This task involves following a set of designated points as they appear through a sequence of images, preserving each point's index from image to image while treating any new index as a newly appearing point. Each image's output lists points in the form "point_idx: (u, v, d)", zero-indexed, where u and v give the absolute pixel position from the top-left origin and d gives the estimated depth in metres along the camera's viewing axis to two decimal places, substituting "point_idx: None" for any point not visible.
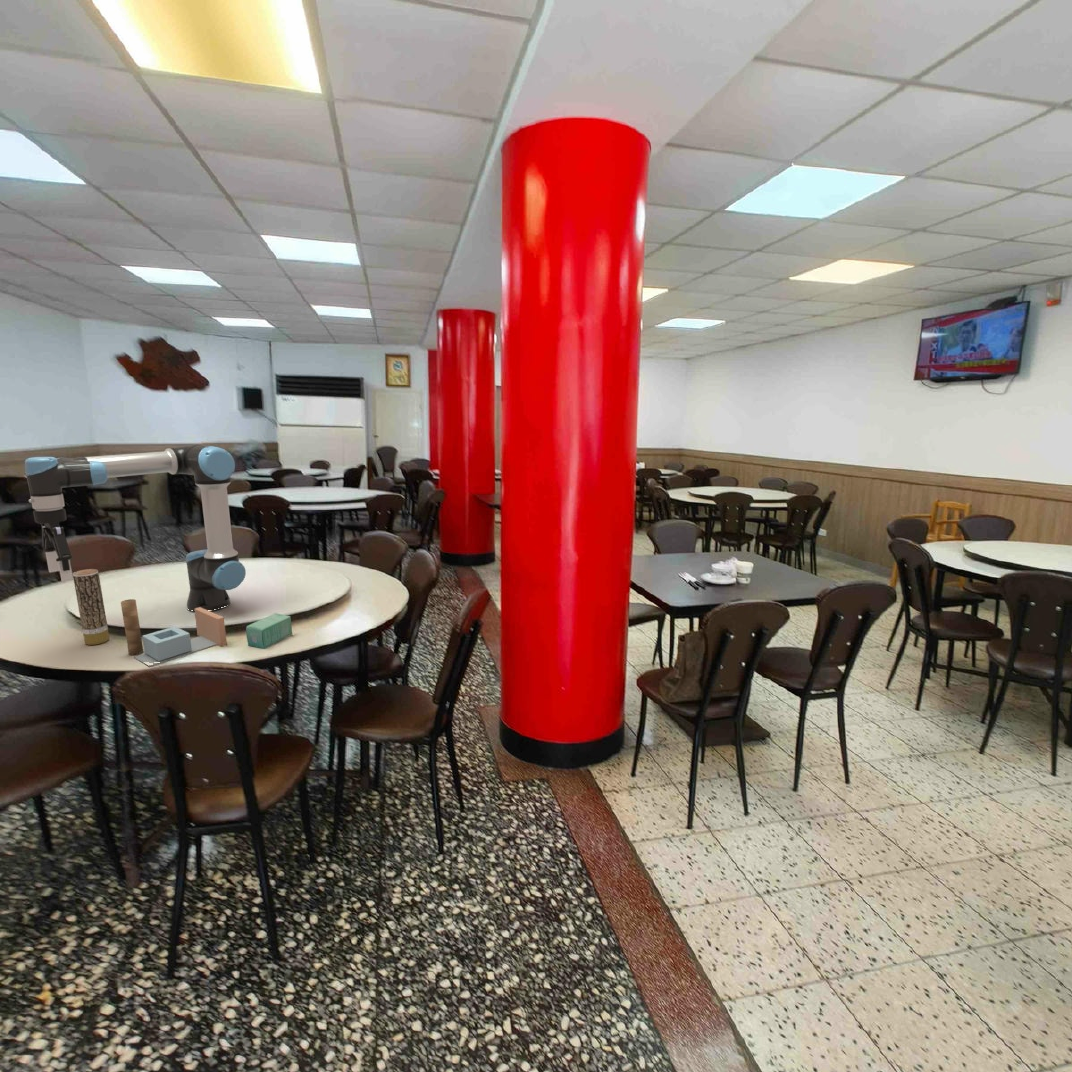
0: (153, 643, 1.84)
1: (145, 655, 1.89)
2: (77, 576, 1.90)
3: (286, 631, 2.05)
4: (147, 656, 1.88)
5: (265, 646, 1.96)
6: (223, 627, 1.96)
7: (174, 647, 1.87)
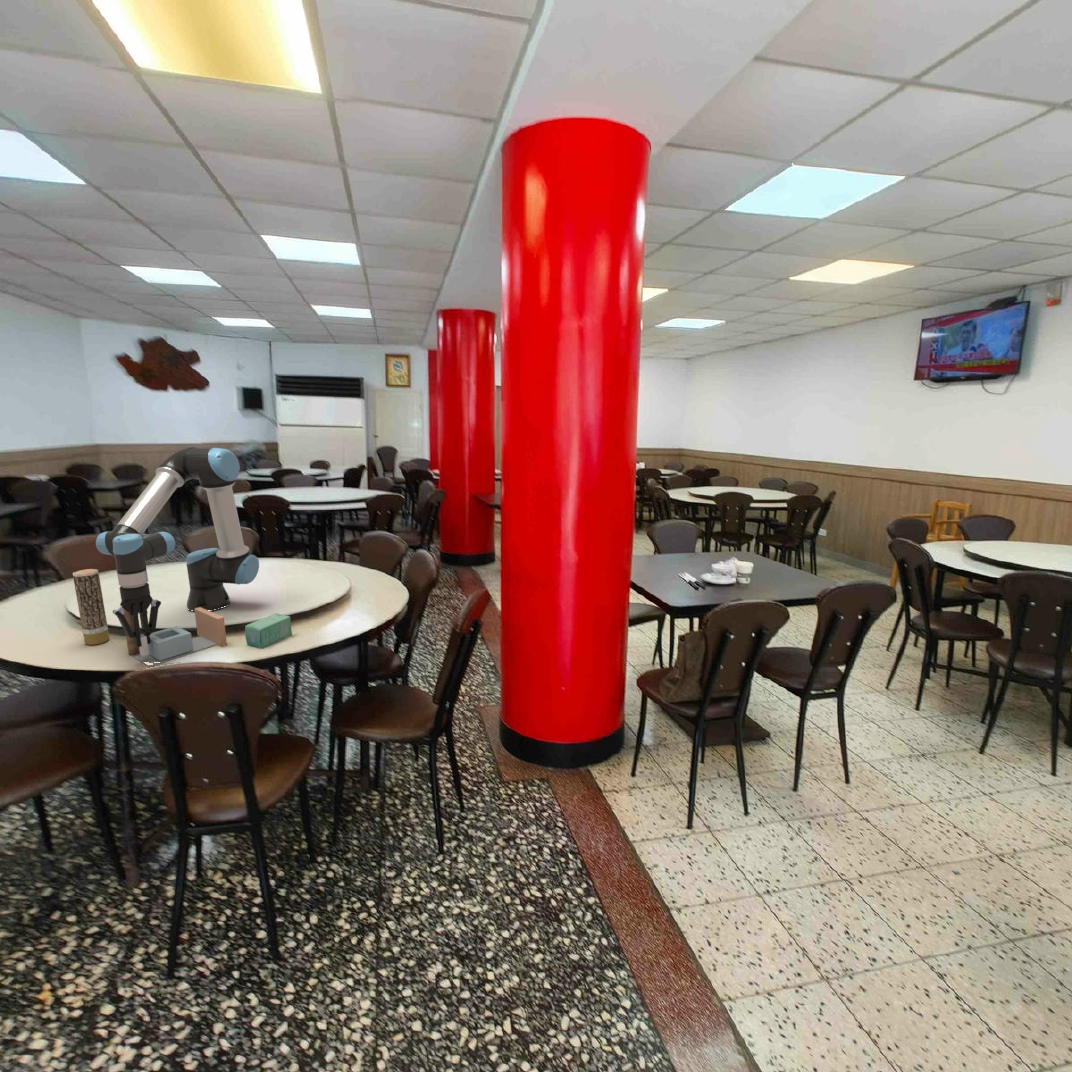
0: (154, 642, 1.84)
1: None
2: (77, 576, 1.90)
3: (286, 631, 2.05)
4: (147, 656, 1.88)
5: (263, 646, 1.96)
6: (223, 627, 1.96)
7: (175, 647, 1.87)
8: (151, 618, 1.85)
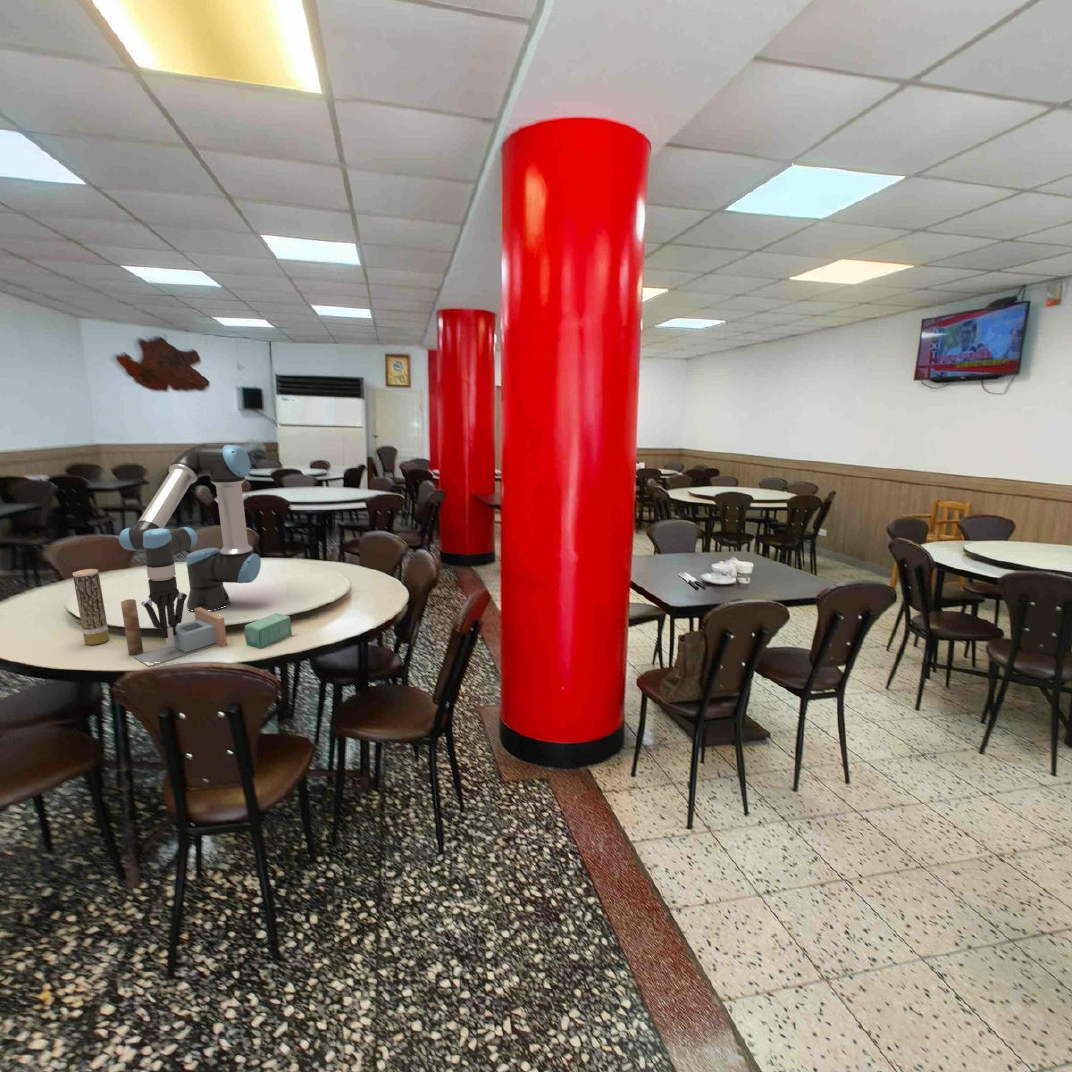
0: (180, 635, 1.90)
1: (145, 655, 1.89)
2: (77, 576, 1.90)
3: (285, 631, 2.05)
4: (147, 656, 1.88)
5: (262, 646, 1.96)
6: (223, 627, 1.96)
7: (200, 639, 1.93)
8: (177, 610, 1.91)
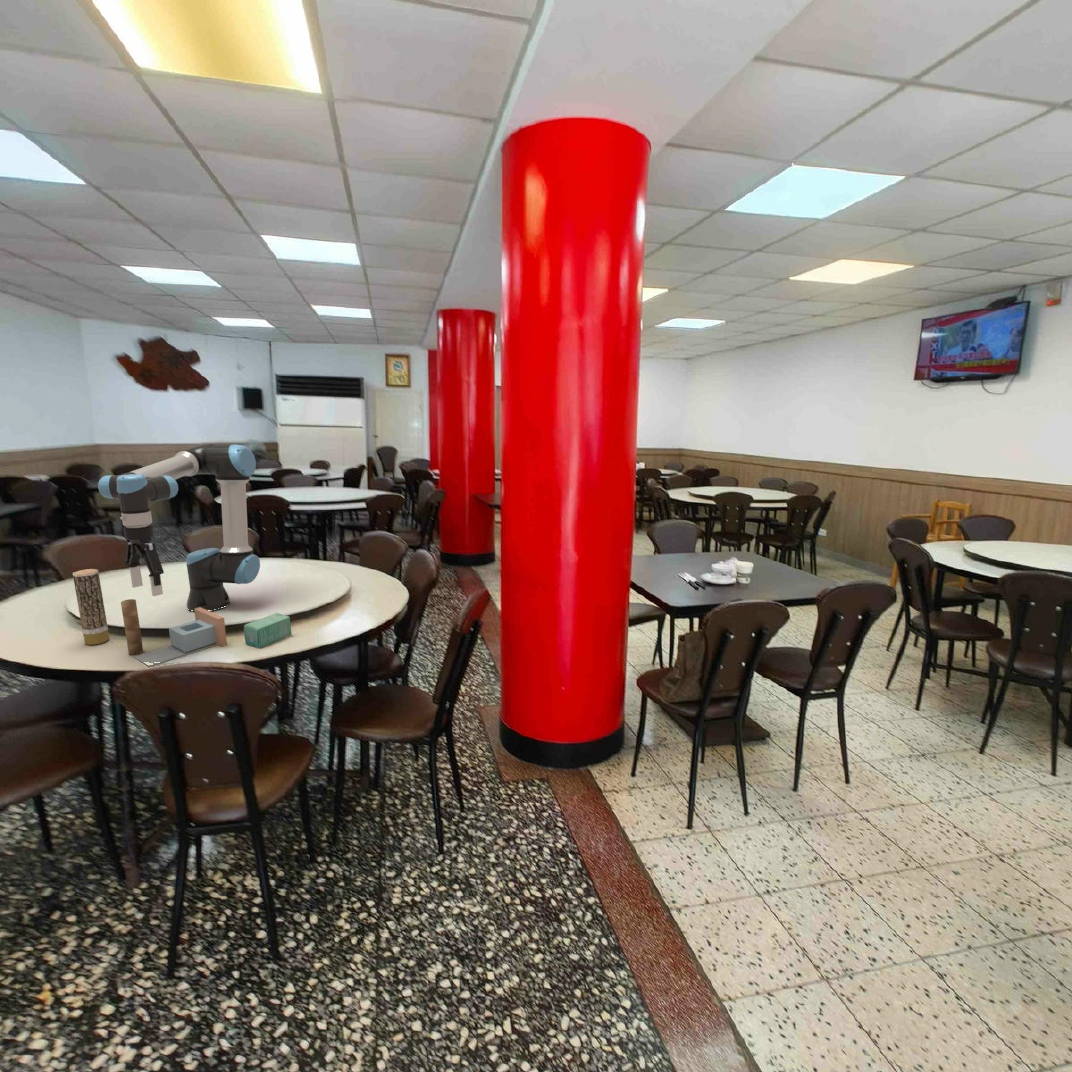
0: (180, 635, 1.90)
1: (145, 655, 1.89)
2: (77, 576, 1.90)
3: (285, 631, 2.04)
4: (147, 656, 1.88)
5: (261, 646, 1.96)
6: (223, 627, 1.96)
7: (200, 639, 1.93)
8: None
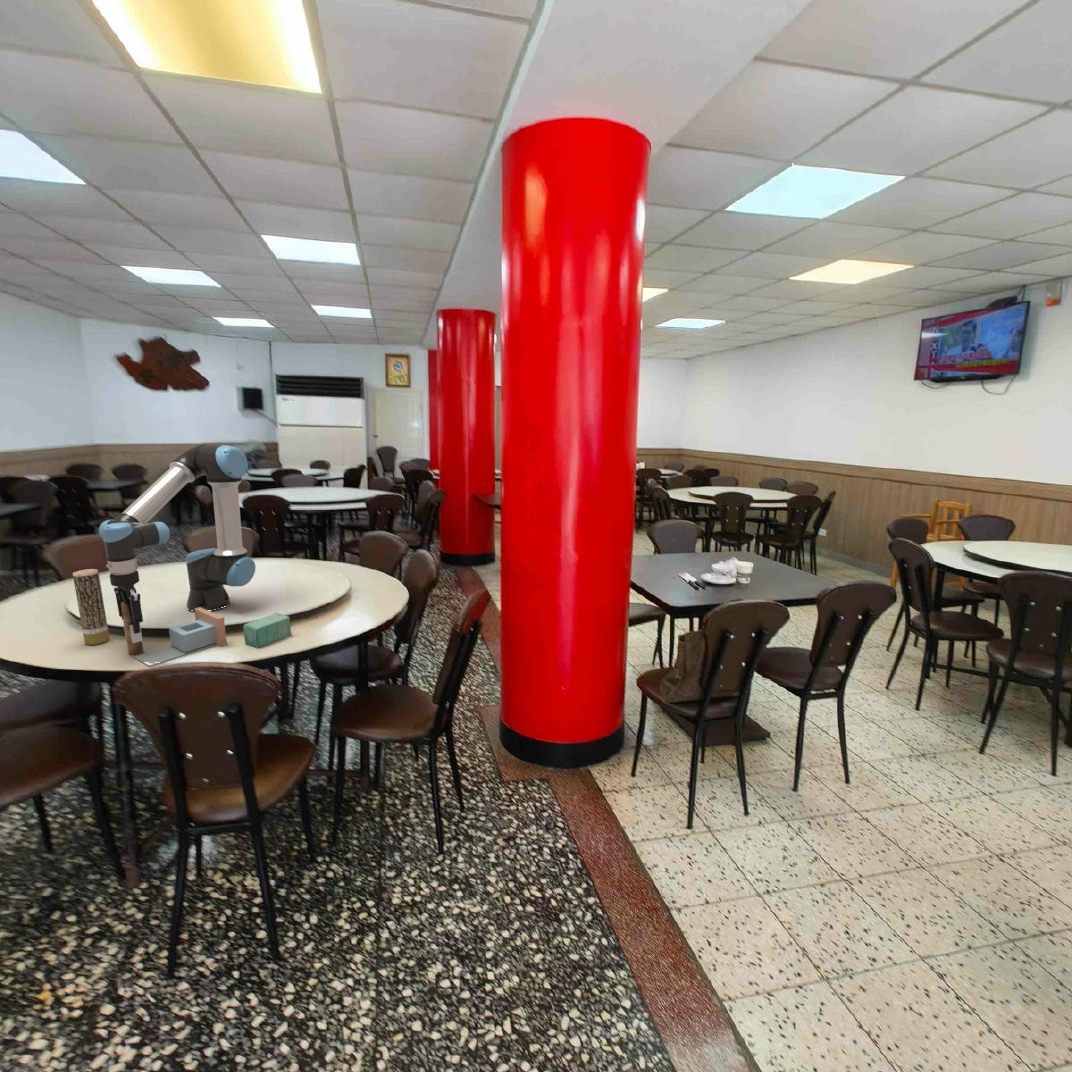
0: (180, 635, 1.90)
1: (145, 655, 1.89)
2: (77, 576, 1.90)
3: (284, 632, 2.04)
4: (147, 656, 1.88)
5: (259, 646, 1.97)
6: (223, 627, 1.96)
7: (200, 639, 1.93)
8: None
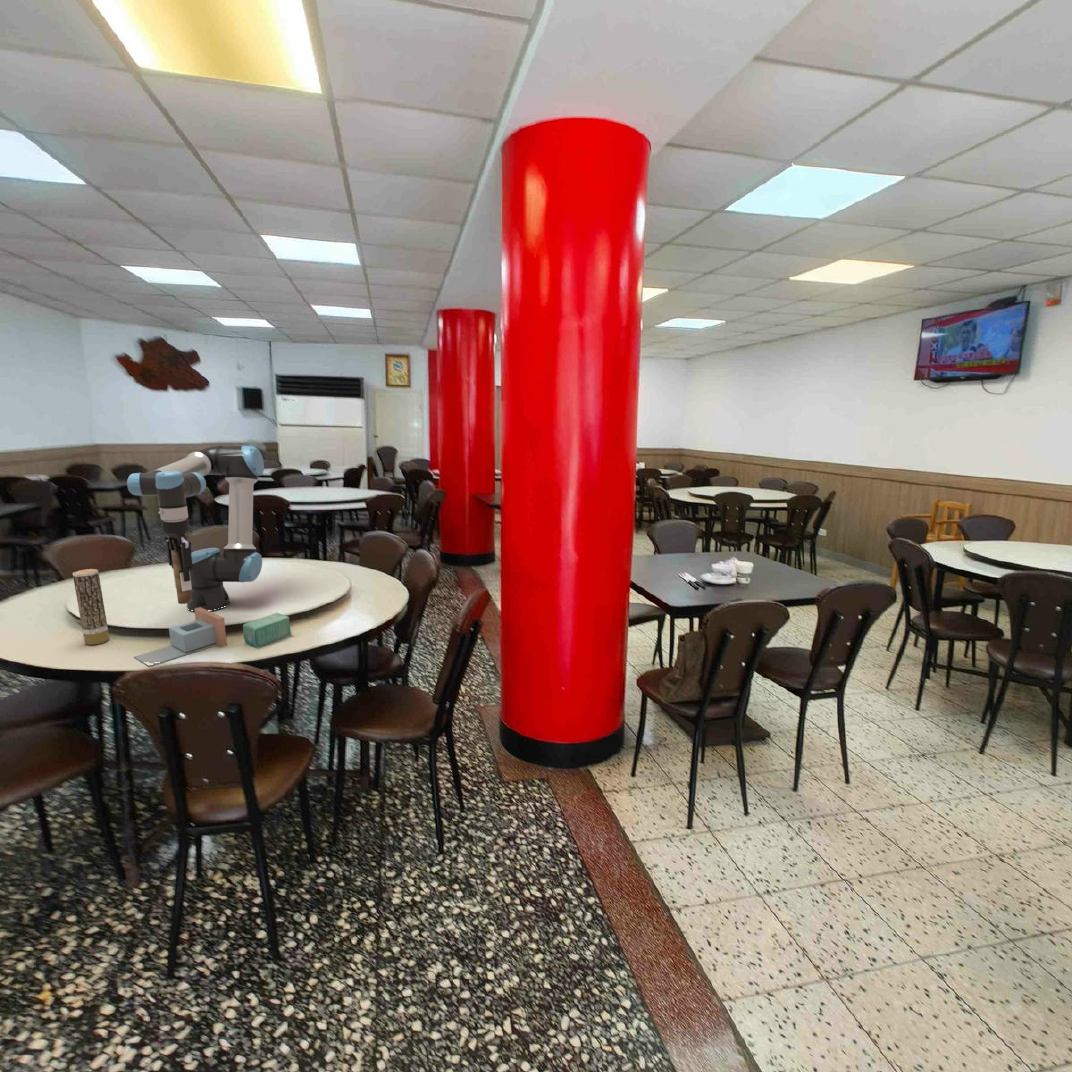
0: (180, 635, 1.90)
1: (145, 655, 1.89)
2: (77, 576, 1.90)
3: (284, 631, 2.04)
4: (147, 656, 1.88)
5: (258, 645, 1.97)
6: (223, 627, 1.96)
7: (200, 639, 1.93)
8: None
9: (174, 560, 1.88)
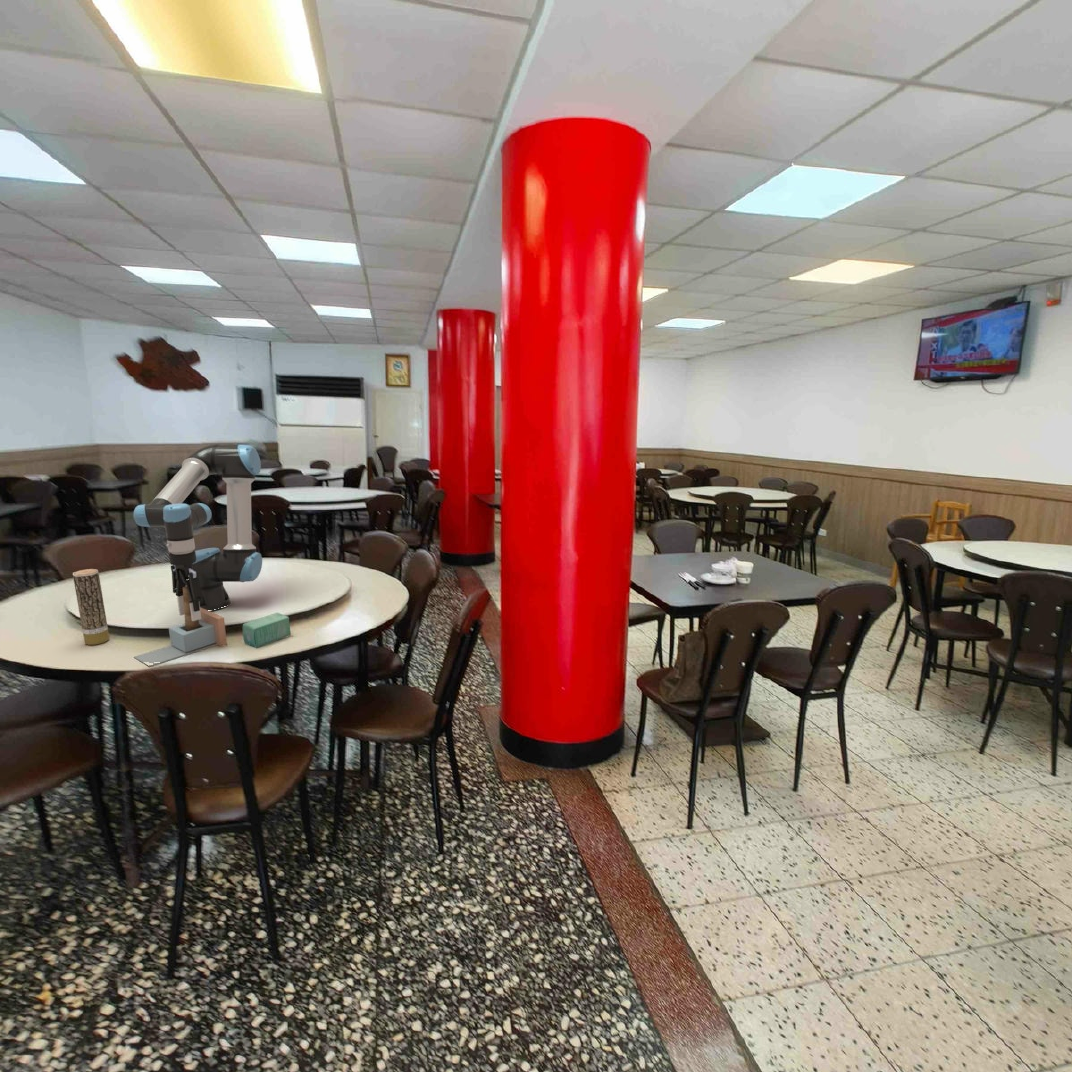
0: (180, 635, 1.90)
1: (145, 655, 1.89)
2: (77, 576, 1.90)
3: (283, 632, 2.04)
4: (147, 656, 1.88)
5: (257, 645, 1.97)
6: (223, 627, 1.96)
7: (200, 639, 1.93)
8: None
9: (185, 597, 1.91)
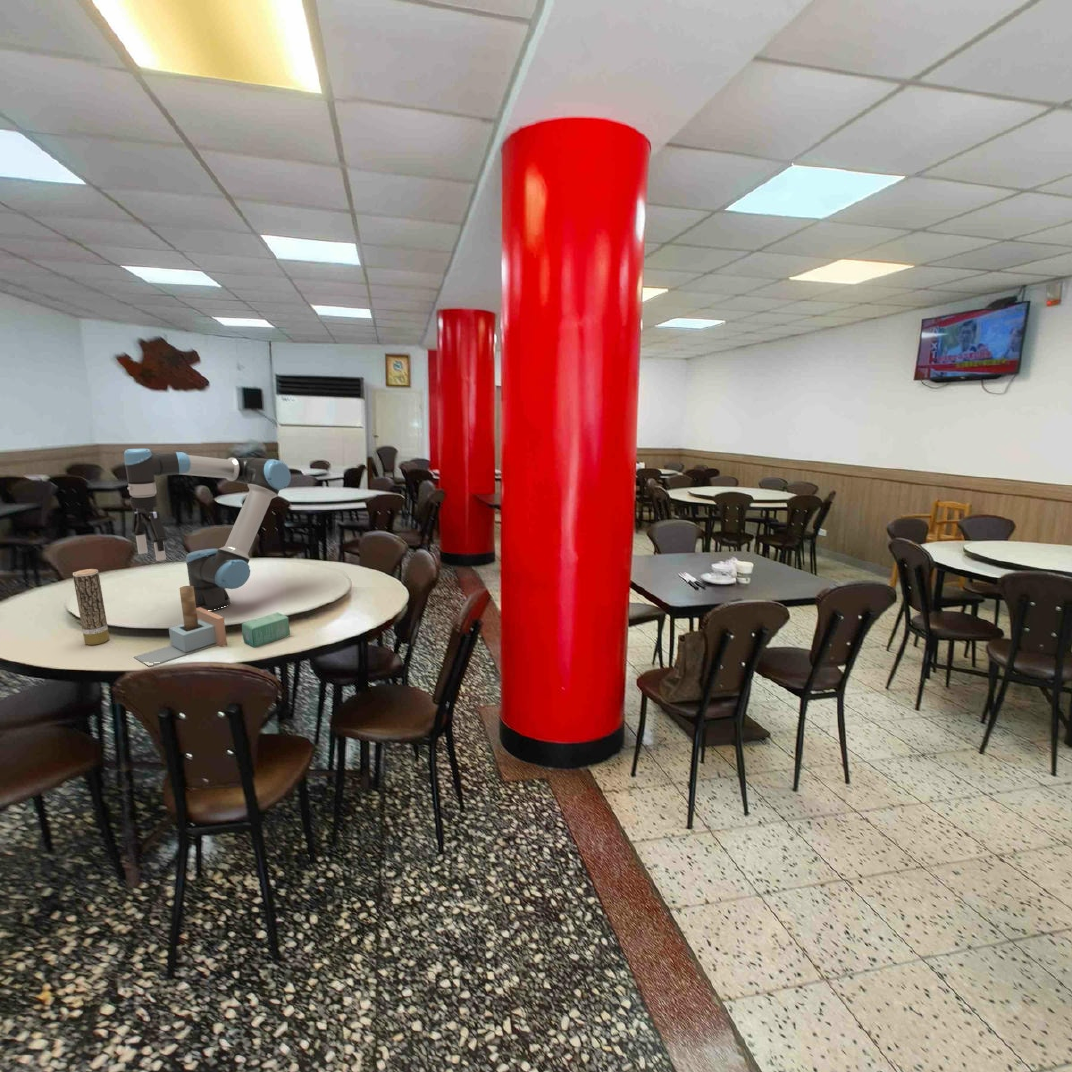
0: (180, 635, 1.90)
1: (145, 655, 1.89)
2: (77, 576, 1.90)
3: (283, 632, 2.04)
4: (147, 656, 1.88)
5: (256, 645, 1.97)
6: (223, 627, 1.96)
7: (200, 639, 1.93)
8: None
9: (182, 598, 1.91)
